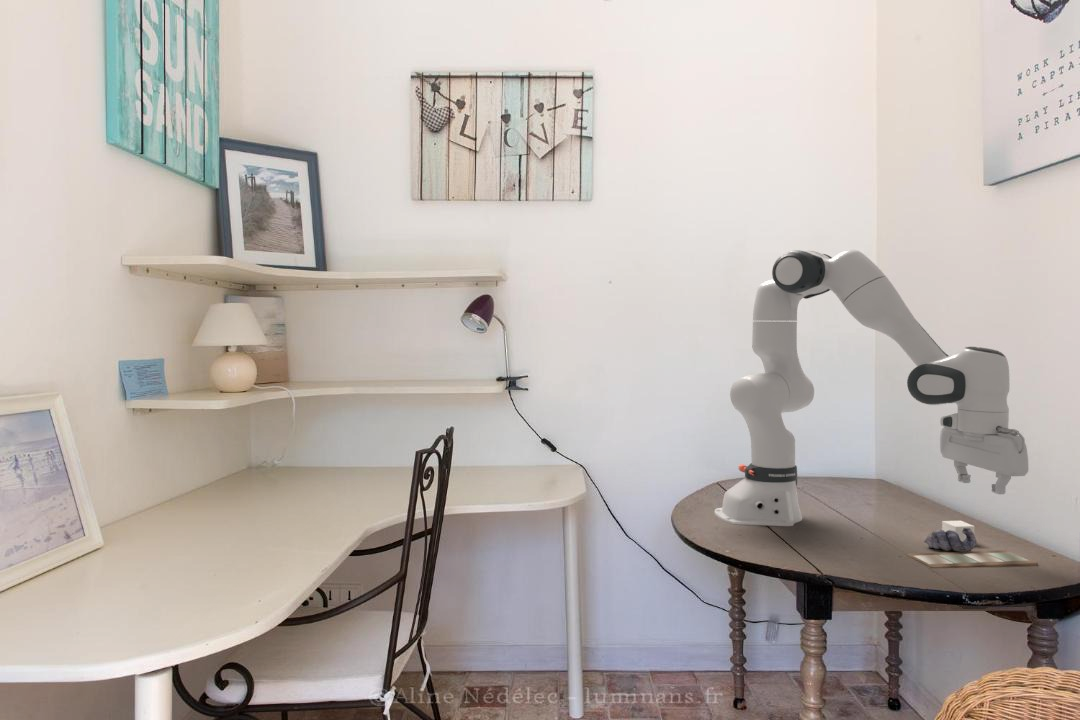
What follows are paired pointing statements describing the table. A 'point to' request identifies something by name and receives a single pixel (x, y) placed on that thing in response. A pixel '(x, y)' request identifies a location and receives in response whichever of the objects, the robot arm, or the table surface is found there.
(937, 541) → the seashell
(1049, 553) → the table surface
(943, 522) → the cream white cube
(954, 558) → the brown rectangular frame
